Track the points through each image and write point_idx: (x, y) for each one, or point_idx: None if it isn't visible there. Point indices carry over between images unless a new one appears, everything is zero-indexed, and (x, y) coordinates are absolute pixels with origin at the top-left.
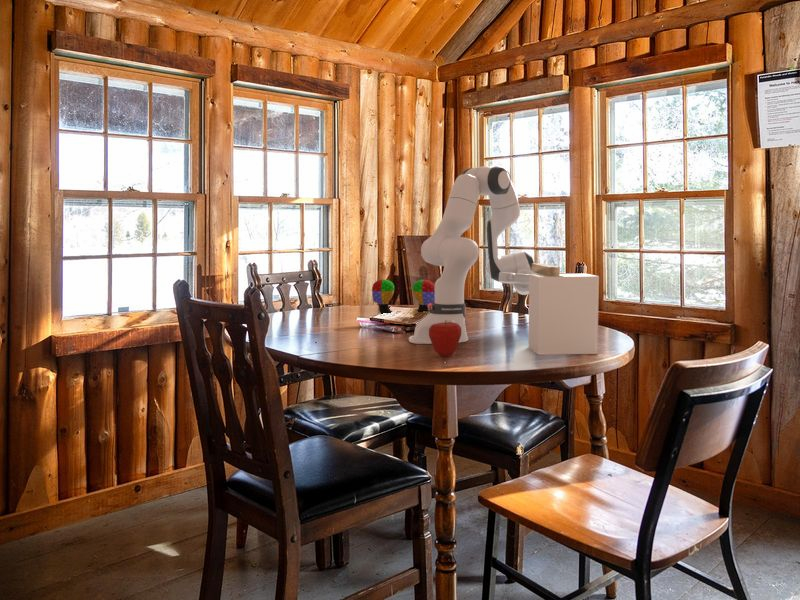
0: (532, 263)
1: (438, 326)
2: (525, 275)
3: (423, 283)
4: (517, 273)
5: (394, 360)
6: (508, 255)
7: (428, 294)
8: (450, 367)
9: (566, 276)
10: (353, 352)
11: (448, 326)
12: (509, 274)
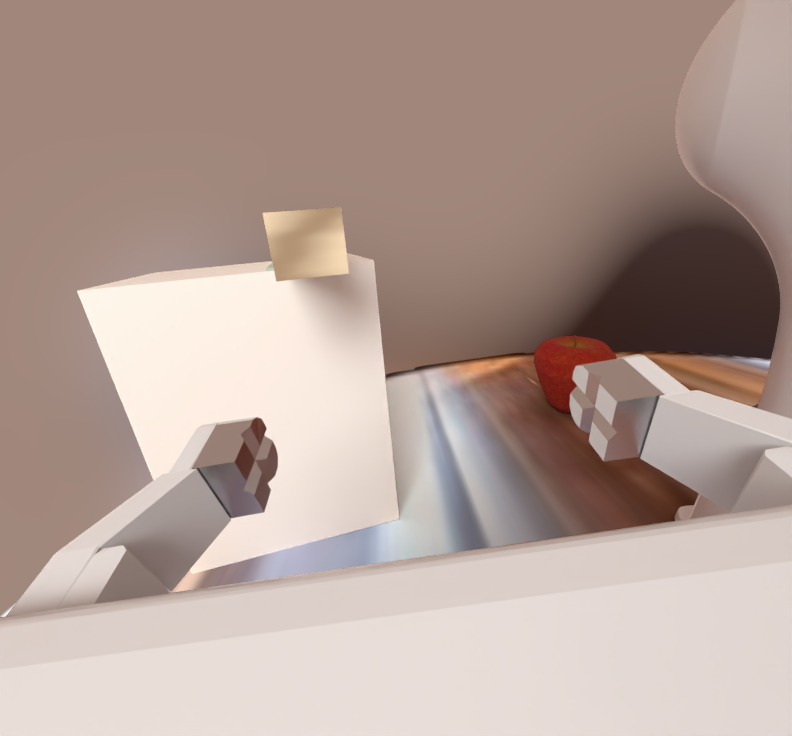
0: (335, 208)
1: (572, 336)
2: (435, 565)
3: None
4: (705, 529)
5: None
6: None
7: None
8: (505, 368)
9: (263, 262)
10: None
11: (553, 338)
12: (743, 413)
